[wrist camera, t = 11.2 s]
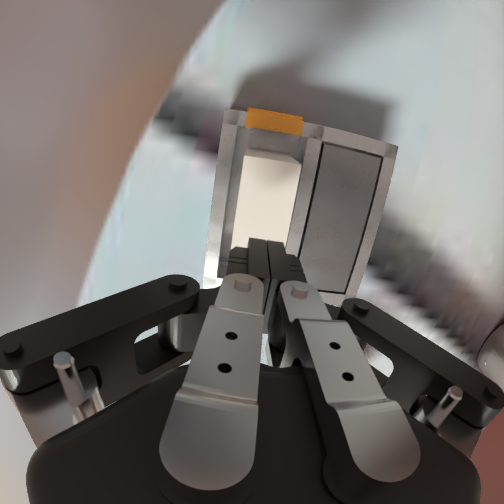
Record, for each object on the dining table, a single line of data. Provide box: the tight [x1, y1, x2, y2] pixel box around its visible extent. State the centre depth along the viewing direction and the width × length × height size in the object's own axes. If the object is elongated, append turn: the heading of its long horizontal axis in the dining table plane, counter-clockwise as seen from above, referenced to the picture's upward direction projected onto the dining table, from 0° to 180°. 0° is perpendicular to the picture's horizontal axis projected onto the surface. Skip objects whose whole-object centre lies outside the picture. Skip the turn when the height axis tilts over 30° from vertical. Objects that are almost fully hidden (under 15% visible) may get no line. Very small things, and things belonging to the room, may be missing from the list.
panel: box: [231, 147, 302, 249], centre depth 20 cm, size 3×8×7 cm, turn 172°
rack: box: [203, 107, 398, 305], centre depth 22 cm, size 12×13×4 cm
